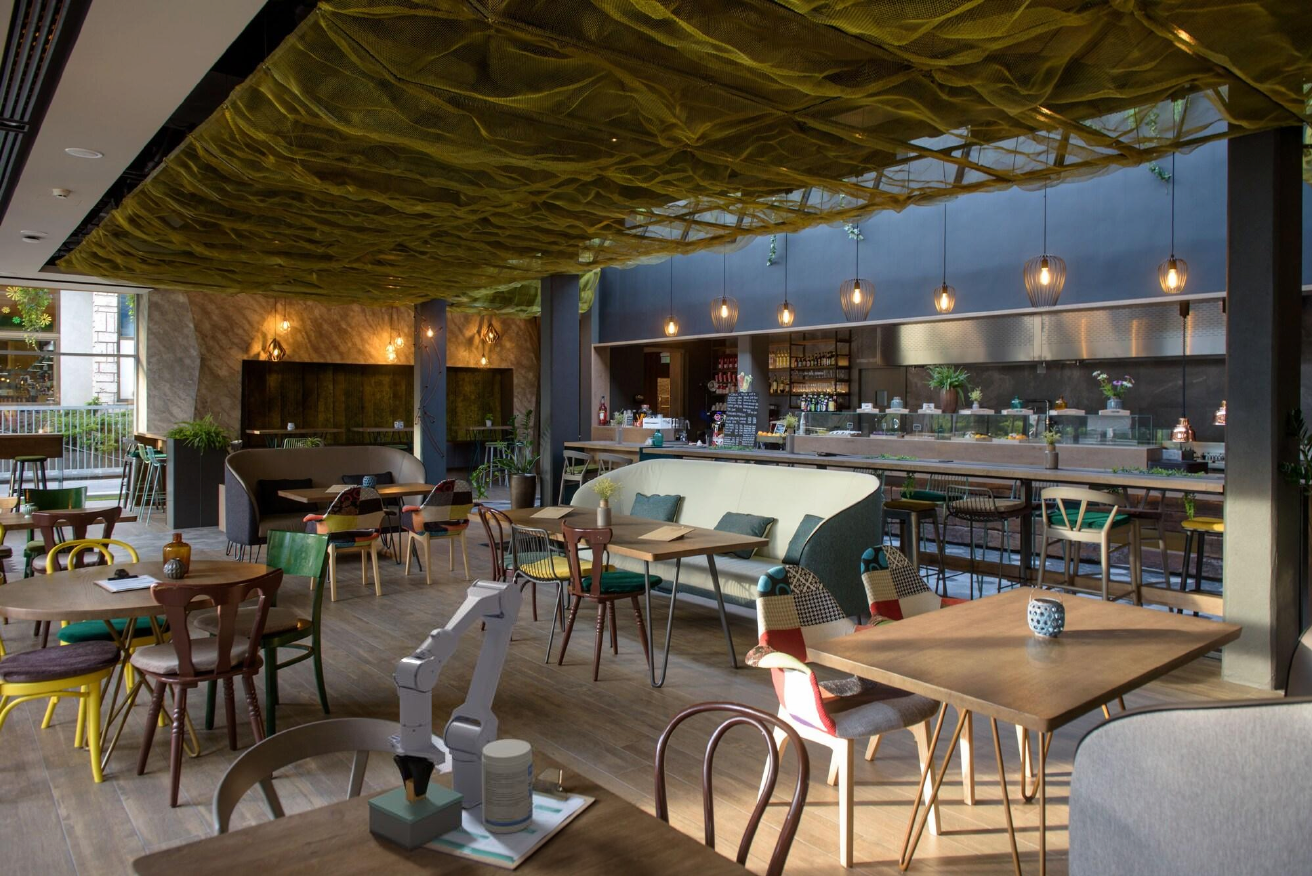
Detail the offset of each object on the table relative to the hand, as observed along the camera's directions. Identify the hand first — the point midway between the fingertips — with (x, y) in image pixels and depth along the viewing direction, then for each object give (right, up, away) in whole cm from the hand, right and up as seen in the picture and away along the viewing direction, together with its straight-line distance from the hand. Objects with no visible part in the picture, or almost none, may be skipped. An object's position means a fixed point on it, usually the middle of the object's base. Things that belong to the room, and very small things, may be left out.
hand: (416, 792), depth 162 cm
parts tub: (0, -7, 0) cm, 7 cm away
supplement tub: (+17, -7, +3) cm, 18 cm away
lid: (0, -3, 0) cm, 2 cm away
